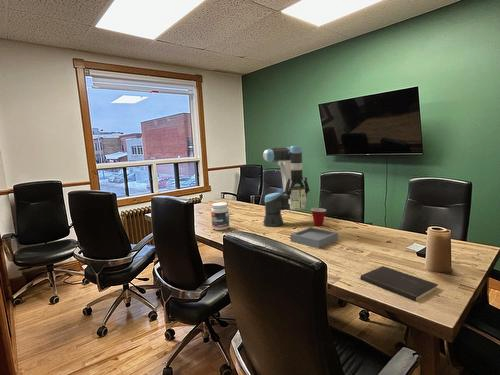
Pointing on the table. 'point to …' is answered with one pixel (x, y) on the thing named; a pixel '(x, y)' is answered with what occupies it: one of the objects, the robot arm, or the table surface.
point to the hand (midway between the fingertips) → (297, 203)
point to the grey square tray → (314, 237)
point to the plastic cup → (318, 216)
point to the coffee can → (297, 198)
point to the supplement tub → (220, 216)
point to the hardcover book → (399, 283)
